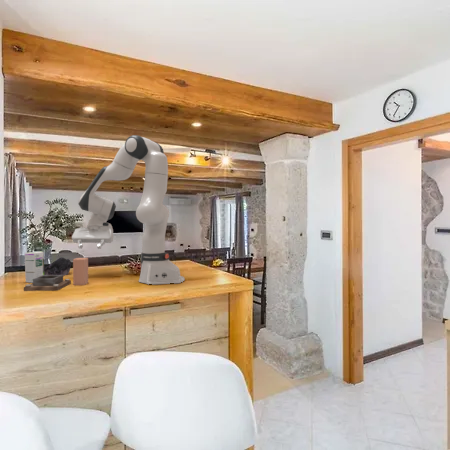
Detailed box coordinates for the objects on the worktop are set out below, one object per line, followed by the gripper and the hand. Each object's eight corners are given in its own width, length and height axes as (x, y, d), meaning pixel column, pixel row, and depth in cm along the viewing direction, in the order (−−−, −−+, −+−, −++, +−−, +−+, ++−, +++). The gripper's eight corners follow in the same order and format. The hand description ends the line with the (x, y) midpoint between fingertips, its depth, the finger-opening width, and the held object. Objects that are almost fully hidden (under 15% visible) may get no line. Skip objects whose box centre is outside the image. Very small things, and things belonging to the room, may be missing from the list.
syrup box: (35, 283, 152) (35, 252, 151) (24, 282, 153) (24, 252, 152) (44, 280, 157) (44, 251, 157) (34, 280, 158) (33, 250, 158)
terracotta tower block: (88, 282, 153) (88, 257, 153) (84, 285, 148) (84, 259, 148) (77, 282, 153) (77, 257, 153) (73, 285, 148) (73, 259, 148)
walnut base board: (70, 283, 151) (70, 274, 151) (57, 290, 137) (57, 280, 137) (40, 283, 150) (40, 274, 150) (23, 290, 136) (23, 280, 136)
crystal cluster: (36, 277, 168) (36, 259, 167) (55, 271, 181) (55, 254, 180) (58, 280, 165) (58, 262, 164) (76, 274, 179) (76, 256, 177)
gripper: (74, 223, 168) (66, 243, 159) (113, 223, 170) (108, 243, 160) (77, 231, 173) (70, 251, 163) (116, 231, 174) (111, 251, 165)
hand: (89, 247), depth 162 cm, fingers open, 8 cm apart
